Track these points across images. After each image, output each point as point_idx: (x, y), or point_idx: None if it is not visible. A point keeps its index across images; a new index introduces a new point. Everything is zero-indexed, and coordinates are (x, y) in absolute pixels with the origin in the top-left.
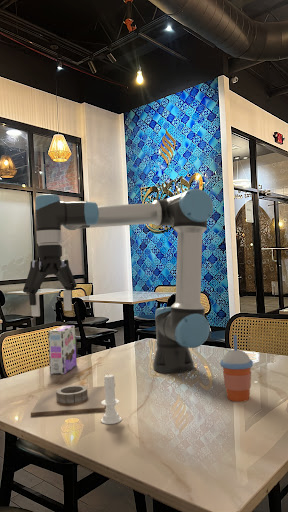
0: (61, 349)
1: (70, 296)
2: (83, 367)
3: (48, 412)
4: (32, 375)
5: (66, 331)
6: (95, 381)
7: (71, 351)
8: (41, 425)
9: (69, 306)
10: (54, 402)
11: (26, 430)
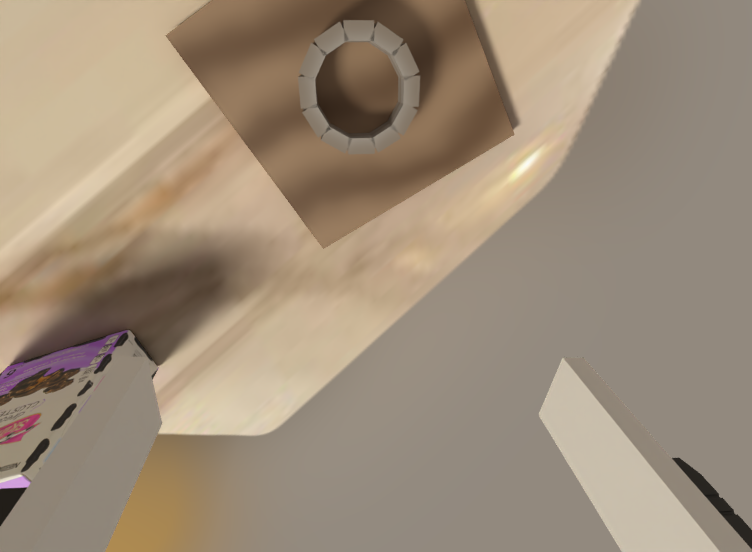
0: (83, 400)
1: (23, 523)
2: (6, 329)
3: (493, 81)
4: (198, 403)
5: None
6: (117, 161)
7: (5, 402)
8: (570, 39)
9: (129, 399)
10: (415, 124)
11: (609, 59)
